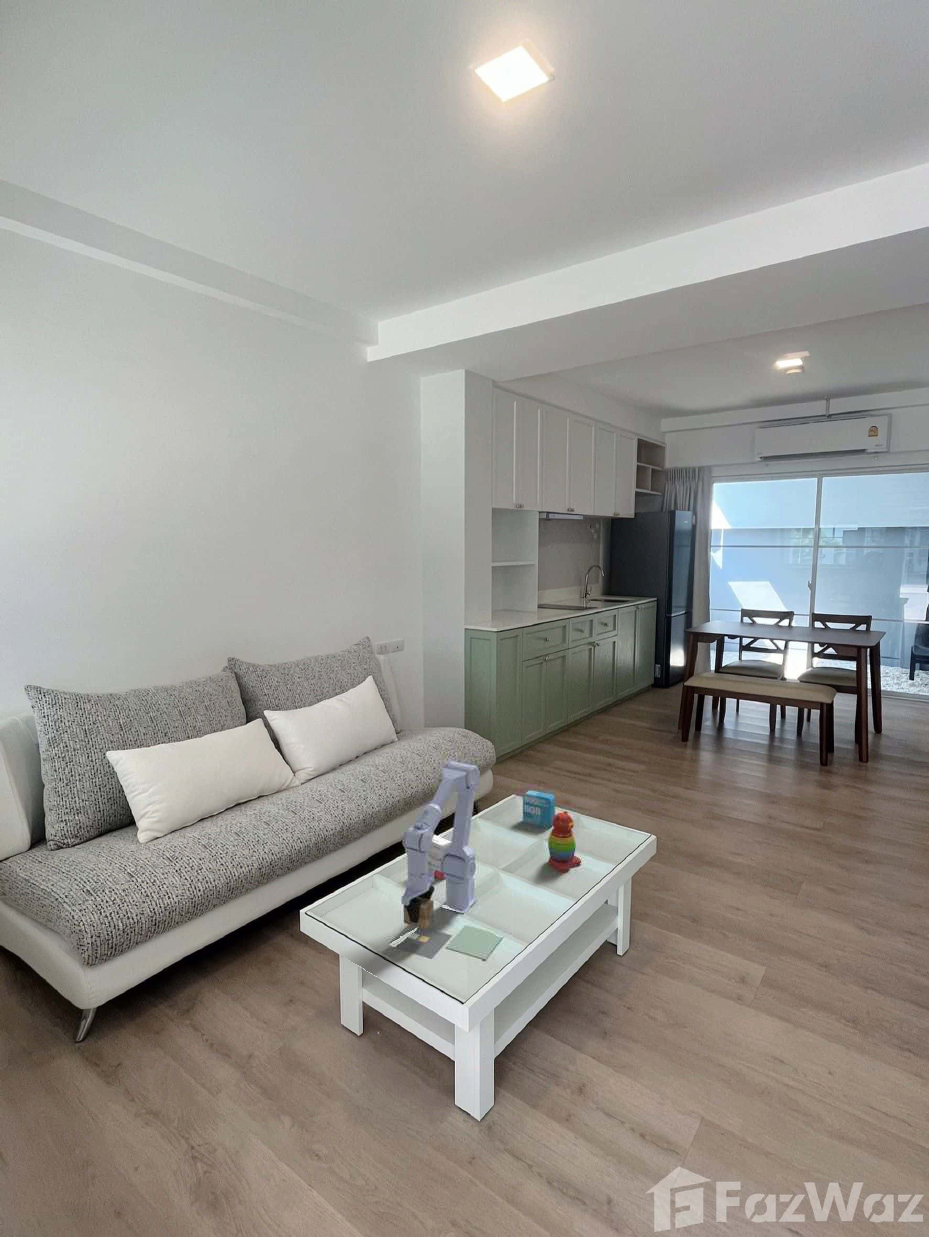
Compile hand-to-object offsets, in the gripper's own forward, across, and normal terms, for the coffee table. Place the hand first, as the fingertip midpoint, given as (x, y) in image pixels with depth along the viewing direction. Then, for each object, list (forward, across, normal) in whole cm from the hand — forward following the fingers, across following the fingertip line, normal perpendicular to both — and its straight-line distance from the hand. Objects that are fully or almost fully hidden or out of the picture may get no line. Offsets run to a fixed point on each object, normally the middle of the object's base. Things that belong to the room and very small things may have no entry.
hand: (418, 917), depth 185 cm
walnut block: (+1, 0, 0) cm, 1 cm away
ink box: (+7, -35, -13) cm, 38 cm away
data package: (+7, -88, +3) cm, 88 cm away
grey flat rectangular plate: (+6, +1, +1) cm, 6 cm away
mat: (+6, -5, +15) cm, 17 cm away
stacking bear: (+7, -60, +22) cm, 64 cm away
